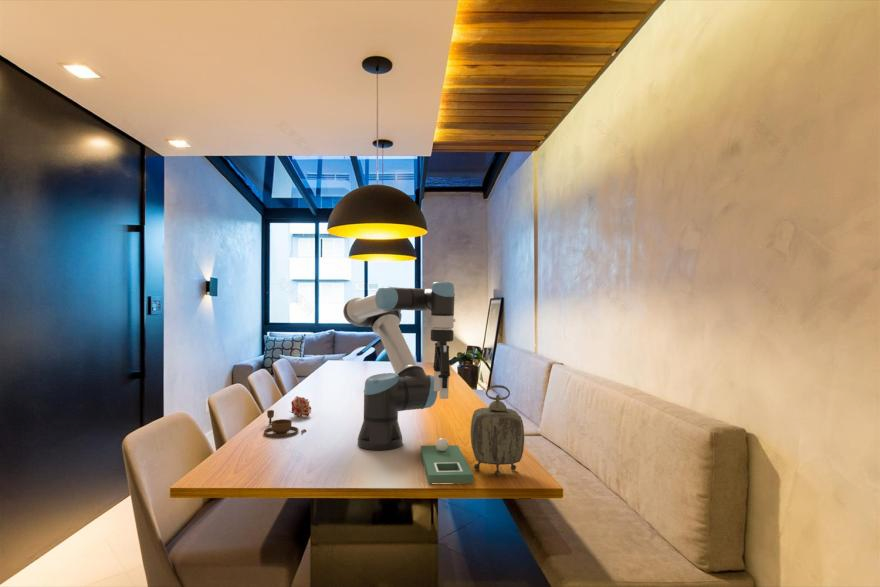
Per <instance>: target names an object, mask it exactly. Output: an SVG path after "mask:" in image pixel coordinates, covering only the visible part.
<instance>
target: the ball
mask: <svg viewBox="0 0 880 587" xmlns="http://www.w3.org/2000/svg"><path fill="white" fill-rule="evenodd" d="M448 445H449V442H448V440H447V439H446V438H443V437H439V438H438V439H436V442H435V445H434V446H436V449H437V450H438V451H441V452H443V451H445V450H447V448H448Z"/></svg>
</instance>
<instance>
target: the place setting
mask: <svg viewBox="0 0 880 587" xmlns="http://www.w3.org/2000/svg"><path fill="white" fill-rule="evenodd" d="M266 411H267V412H266V414H267V415H266V416H267V418H268V419H269V420H268V425H269V426H271V427H268V428H266V429H263V434H264V436H265V437H268V438H272V439H274V438H275V439H276V438H277V439H278V438H279V439H280V438H288V437H293V436H296V435H297V434H298V432H299V428H298V427H296V426H294V425H293V426H292V422H293V421H292V420H291V419H285V418H284V419H282V418H281V419H275V420H272V418H273V417H275V416H274V415H275V410H273V409H270V410H266ZM289 431H293V432H289ZM270 432H273V434H271V433H270ZM288 432H289V433H288ZM300 432H301V434H300V435H301V436H303V434H305V433H306V432H307V429H305V428H304V429H302V430H300Z"/></svg>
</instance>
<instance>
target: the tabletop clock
mask: <svg viewBox="0 0 880 587" xmlns="http://www.w3.org/2000/svg"><path fill="white" fill-rule="evenodd" d="M496 388H499V389H500V388H501V389H503V390H506V391H507V393H508V394H507V395H505V396H503V397H500V395H499V394H496V395H495V397H493V396H491V395H489V394H488V392H489V391H490V390H491V389H496ZM510 394H511V392H510V390H509V388H508V387H507V386H504V385H500V384H499V385H498V384H497V385H496V384H495V385H490V386H489V387H488V388H487V389H486V390H485V395H486V397H487V398H488V399H489V400H492V401H491V402H490V403H489V406H488V407H480V408H478V409H475V410H474V411H473V414H472V417H471V424H470V443H471V448H472V453H473V455H474V458H475V460H476V462H477V463H475V464H474V465H473V468H474V469H475V471H476V470H479V469H480V468H481V467H480V465H481V463H482V464H487V465H495V466H496V467H495V468H496V470H495V471H494V475H495V477H500V476H501V471H500V468H499V465H504V466H505V465H510V469H511V471H515V470H516V469H517V465H516V464H517V463H520V462H521V460H522V458H523V454H524V447H525V429H524V422H523V419H522V417H521V415H520V414H519V413H518V412H517V411H516V410H514V409H513V408H508V407H507V406H506V404H505V403H504V402H503V400H507V399H508V398H509V397H510V396H511V395H510Z"/></svg>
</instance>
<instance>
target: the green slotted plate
mask: <svg viewBox="0 0 880 587" xmlns="http://www.w3.org/2000/svg"><path fill="white" fill-rule="evenodd" d="M420 457H421V461H422V463H423V464H424V465H423V468H425V469H424V472H426V473H425V477H426V476H427V477H426V479H427V480H428V481H427V484H428V483H429V484H432V483H473V484H474V472H473V471H472V469H471V467H470V466H469V464H468V462H467V460H466V458H465V456H464V455H463V452H462V451H461V449H460V447H459V445H458V444H457V445H456V444H455V445H451V444H450V445H449V444H448V448H447V450H445V451H443V452H441V451H438V450H437V449H436V446H435V445H420Z"/></svg>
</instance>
